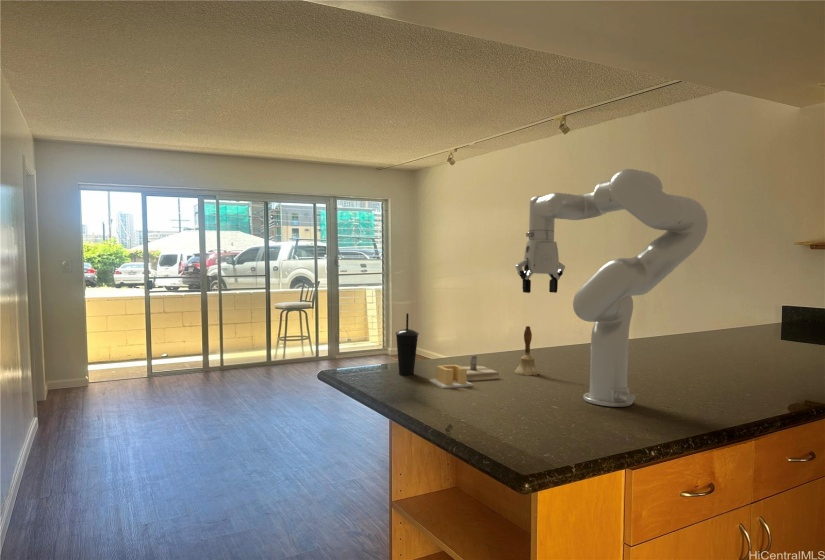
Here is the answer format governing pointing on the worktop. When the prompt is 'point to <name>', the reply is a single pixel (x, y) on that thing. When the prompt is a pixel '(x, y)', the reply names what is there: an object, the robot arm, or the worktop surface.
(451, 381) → the c link
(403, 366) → the drinking cup
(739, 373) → the worktop surface
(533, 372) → the hand bell
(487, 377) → the stand
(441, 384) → the pad
